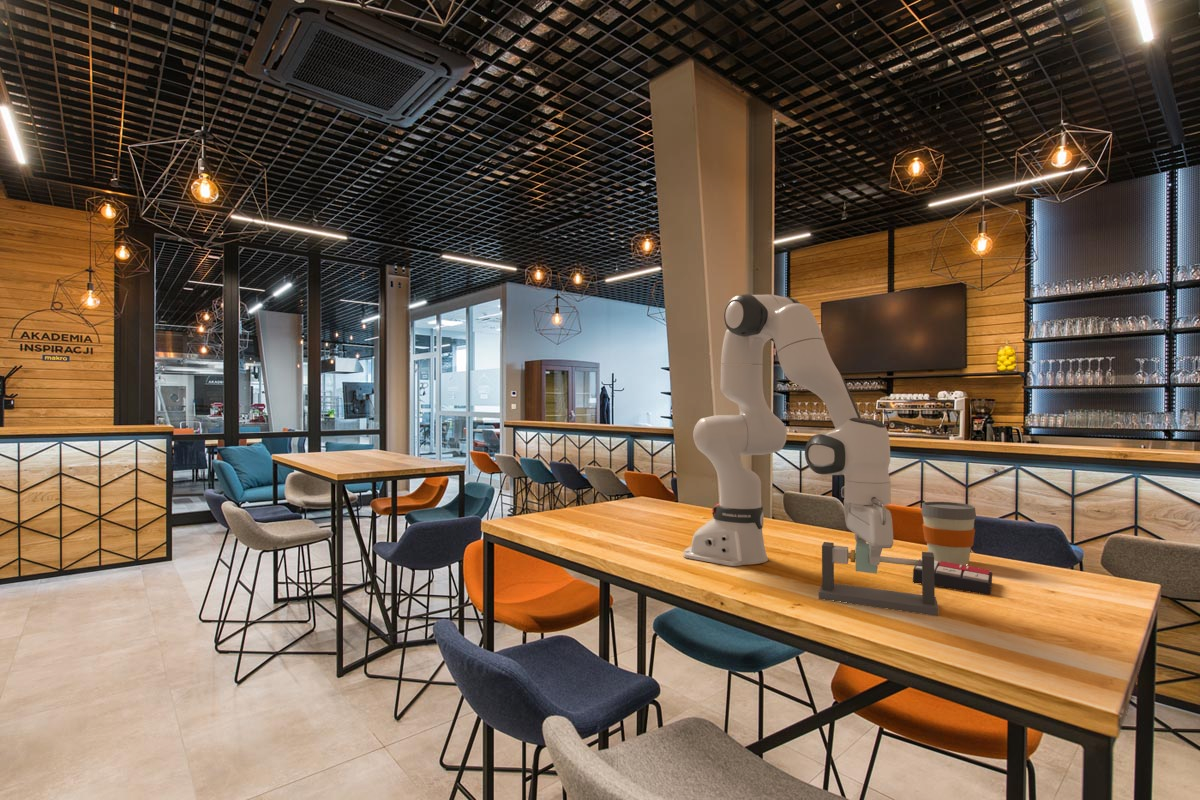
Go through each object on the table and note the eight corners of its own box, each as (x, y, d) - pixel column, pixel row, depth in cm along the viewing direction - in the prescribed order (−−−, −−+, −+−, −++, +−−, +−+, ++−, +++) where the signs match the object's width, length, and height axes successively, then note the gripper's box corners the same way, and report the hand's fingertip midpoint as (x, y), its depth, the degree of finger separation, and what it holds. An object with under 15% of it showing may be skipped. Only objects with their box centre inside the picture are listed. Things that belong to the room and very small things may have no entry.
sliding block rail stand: (818, 599, 122) (818, 547, 122) (823, 588, 129) (822, 539, 129) (938, 616, 112) (937, 559, 112) (935, 603, 119) (935, 550, 119)
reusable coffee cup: (975, 559, 154) (974, 503, 154) (978, 570, 143) (977, 510, 144) (922, 553, 161) (921, 500, 161) (921, 563, 150) (920, 506, 150)
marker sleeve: (855, 571, 120) (855, 547, 120) (857, 565, 124) (856, 542, 125) (876, 573, 118) (876, 549, 118) (877, 567, 123) (877, 544, 123)
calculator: (991, 580, 124) (913, 565, 133) (990, 599, 125) (912, 583, 133) (992, 568, 133) (919, 555, 142) (991, 587, 133) (918, 573, 142)
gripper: (901, 502, 111) (902, 574, 111) (867, 488, 131) (868, 548, 131) (867, 501, 112) (868, 573, 111) (838, 487, 132) (839, 547, 132)
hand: (868, 559), depth 121 cm, fingers open, 6 cm apart
